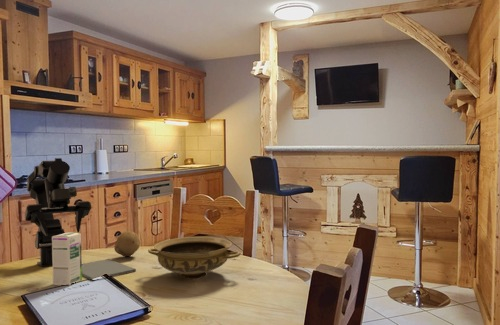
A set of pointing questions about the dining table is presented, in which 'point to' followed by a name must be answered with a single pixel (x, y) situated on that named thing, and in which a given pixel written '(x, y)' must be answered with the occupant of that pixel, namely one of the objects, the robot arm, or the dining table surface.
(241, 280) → the dining table surface
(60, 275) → the syrup box
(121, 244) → the natural sponge
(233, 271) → the dining table surface
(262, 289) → the dining table surface
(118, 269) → the rubber mat
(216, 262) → the ceramic bowl
